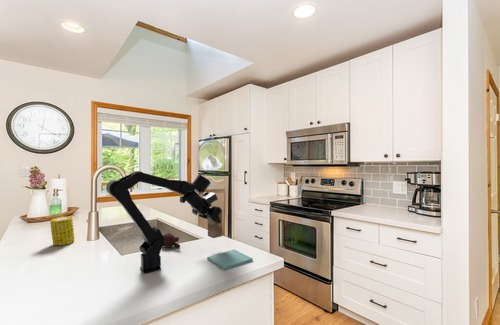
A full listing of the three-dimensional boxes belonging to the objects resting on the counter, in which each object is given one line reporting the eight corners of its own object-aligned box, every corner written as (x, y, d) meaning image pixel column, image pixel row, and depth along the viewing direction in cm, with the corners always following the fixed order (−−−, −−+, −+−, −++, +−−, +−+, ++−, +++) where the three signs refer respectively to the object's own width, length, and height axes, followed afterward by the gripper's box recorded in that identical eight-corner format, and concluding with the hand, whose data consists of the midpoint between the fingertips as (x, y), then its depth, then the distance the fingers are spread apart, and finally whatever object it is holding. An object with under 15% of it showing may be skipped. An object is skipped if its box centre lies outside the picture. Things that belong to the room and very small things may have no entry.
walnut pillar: (213, 238, 117) (212, 211, 116) (207, 235, 120) (207, 209, 120) (222, 236, 120) (222, 209, 120) (216, 233, 124) (216, 208, 123)
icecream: (150, 234, 126) (172, 241, 120) (161, 227, 133) (183, 233, 126) (152, 246, 128) (174, 253, 122) (163, 239, 135) (185, 245, 128)
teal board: (224, 270, 98) (224, 267, 98) (207, 259, 110) (207, 257, 110) (252, 260, 107) (252, 258, 107) (234, 251, 118) (234, 249, 118)
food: (78, 243, 140) (61, 251, 130) (60, 238, 141) (42, 245, 131) (81, 217, 138) (65, 222, 128) (63, 211, 140) (45, 217, 130)
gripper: (217, 188, 110) (238, 210, 117) (197, 185, 125) (216, 205, 132) (201, 209, 105) (224, 231, 112) (182, 204, 120) (203, 223, 127)
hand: (217, 221), depth 121 cm, fingers closed on walnut pillar, 5 cm apart
